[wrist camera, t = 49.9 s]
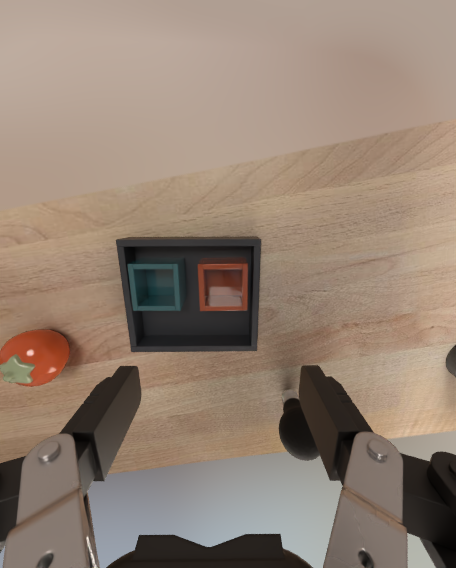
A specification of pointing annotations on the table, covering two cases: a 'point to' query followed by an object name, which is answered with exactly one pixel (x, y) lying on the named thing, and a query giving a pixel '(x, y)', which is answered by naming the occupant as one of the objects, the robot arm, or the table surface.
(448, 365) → the coffee cup
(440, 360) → the table surface
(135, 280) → the box teal
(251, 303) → the tray
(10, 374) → the tomato
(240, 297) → the box brown
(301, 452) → the light bulb
